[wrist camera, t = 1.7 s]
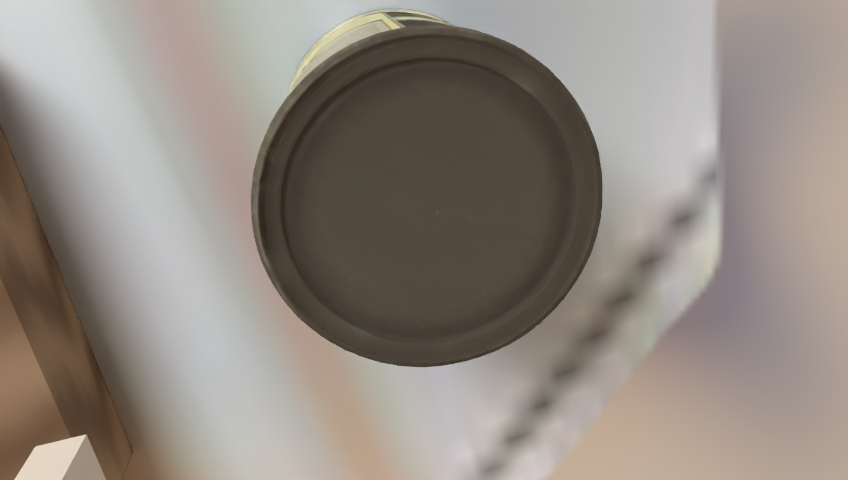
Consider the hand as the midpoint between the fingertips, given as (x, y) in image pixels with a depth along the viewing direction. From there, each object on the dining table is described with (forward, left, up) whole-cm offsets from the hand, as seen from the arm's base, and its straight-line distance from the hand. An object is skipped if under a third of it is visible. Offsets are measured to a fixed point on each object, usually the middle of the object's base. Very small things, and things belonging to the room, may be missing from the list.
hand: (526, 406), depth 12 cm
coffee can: (0, 0, -25) cm, 25 cm away
